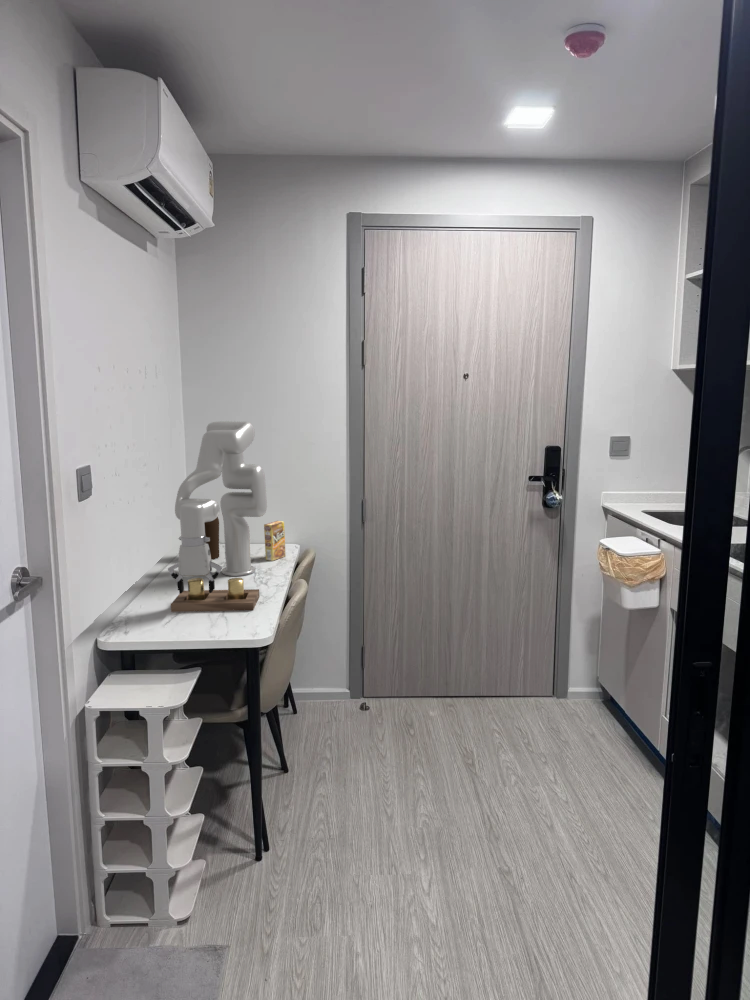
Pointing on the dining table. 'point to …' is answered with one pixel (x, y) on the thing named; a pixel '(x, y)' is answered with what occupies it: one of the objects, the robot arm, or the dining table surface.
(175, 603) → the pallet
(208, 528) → the olive oil
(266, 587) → the dining table surface
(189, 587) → the billet
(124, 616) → the dining table surface
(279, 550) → the candy box
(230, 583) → the seated billet
